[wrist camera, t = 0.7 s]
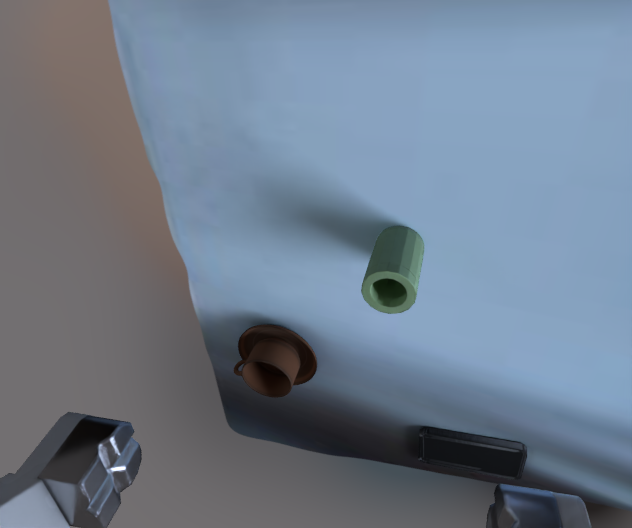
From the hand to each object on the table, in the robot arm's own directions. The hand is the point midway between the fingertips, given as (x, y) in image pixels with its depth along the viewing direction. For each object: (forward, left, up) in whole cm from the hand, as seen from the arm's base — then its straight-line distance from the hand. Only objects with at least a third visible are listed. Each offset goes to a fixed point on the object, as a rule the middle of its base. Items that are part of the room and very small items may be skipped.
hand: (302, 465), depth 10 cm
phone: (+54, +17, -39) cm, 69 cm away
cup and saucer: (+43, -14, -39) cm, 59 cm away
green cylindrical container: (+21, 0, -39) cm, 44 cm away
